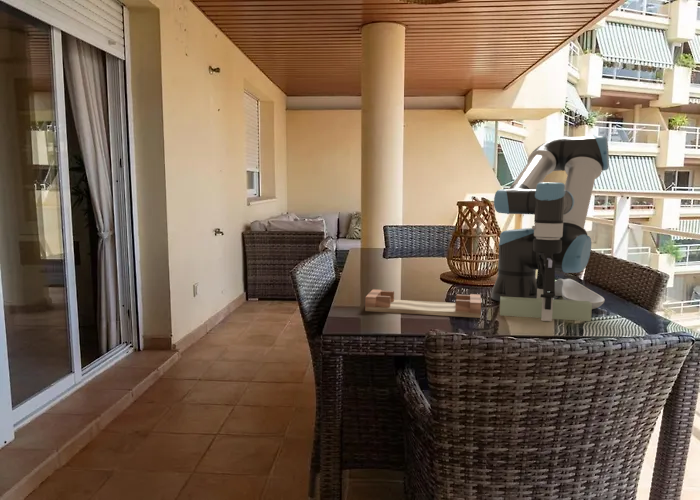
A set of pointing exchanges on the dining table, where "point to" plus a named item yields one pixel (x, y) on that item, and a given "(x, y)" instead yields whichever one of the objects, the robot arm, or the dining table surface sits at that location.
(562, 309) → the slat
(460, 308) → the slat cradle
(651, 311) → the dining table surface
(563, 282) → the spoon rest
